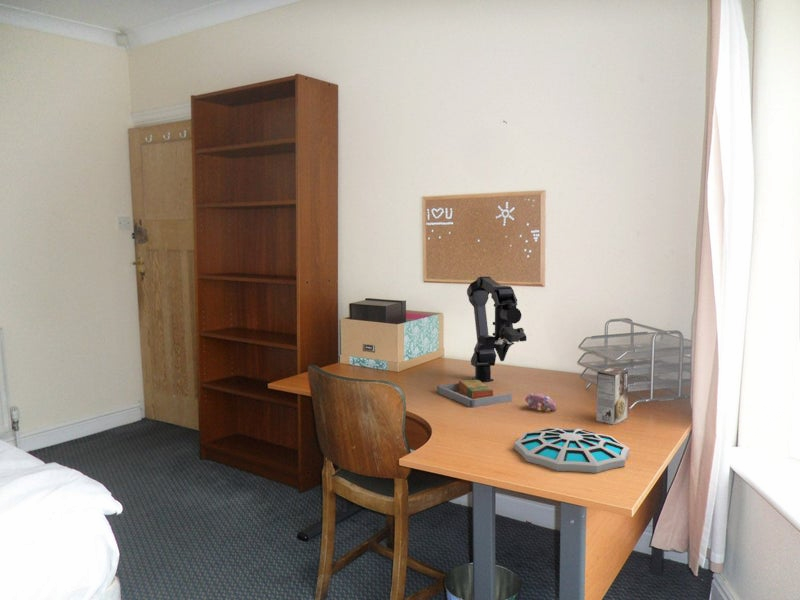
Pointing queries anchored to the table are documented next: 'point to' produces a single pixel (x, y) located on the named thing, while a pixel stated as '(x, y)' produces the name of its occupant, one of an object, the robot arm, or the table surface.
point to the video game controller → (540, 401)
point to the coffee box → (612, 395)
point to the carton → (475, 389)
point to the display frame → (449, 392)
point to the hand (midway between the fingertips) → (502, 360)
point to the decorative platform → (572, 450)
